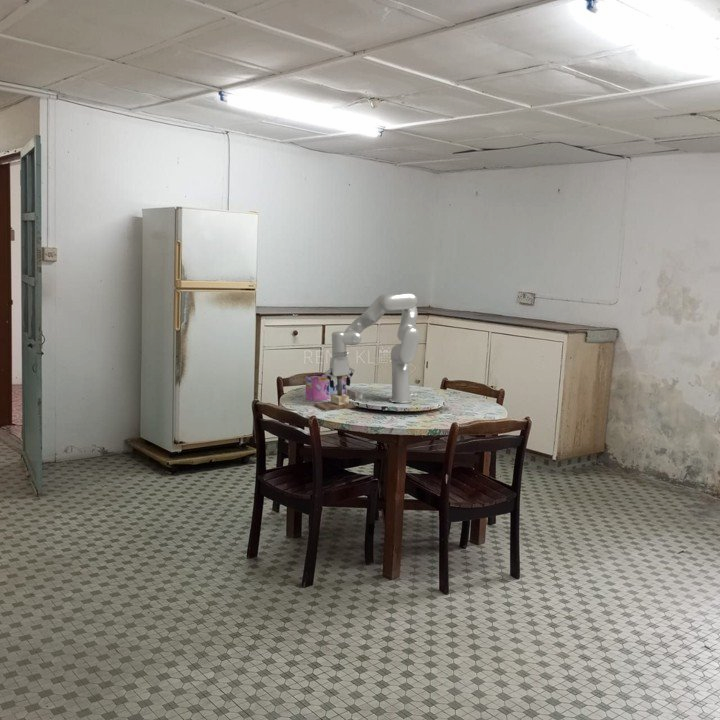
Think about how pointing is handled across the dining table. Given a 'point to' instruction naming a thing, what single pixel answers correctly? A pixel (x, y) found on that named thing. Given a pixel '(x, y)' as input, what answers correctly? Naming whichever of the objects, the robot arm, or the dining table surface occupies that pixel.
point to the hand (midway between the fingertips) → (340, 386)
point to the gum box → (322, 387)
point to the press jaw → (339, 394)
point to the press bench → (352, 394)
